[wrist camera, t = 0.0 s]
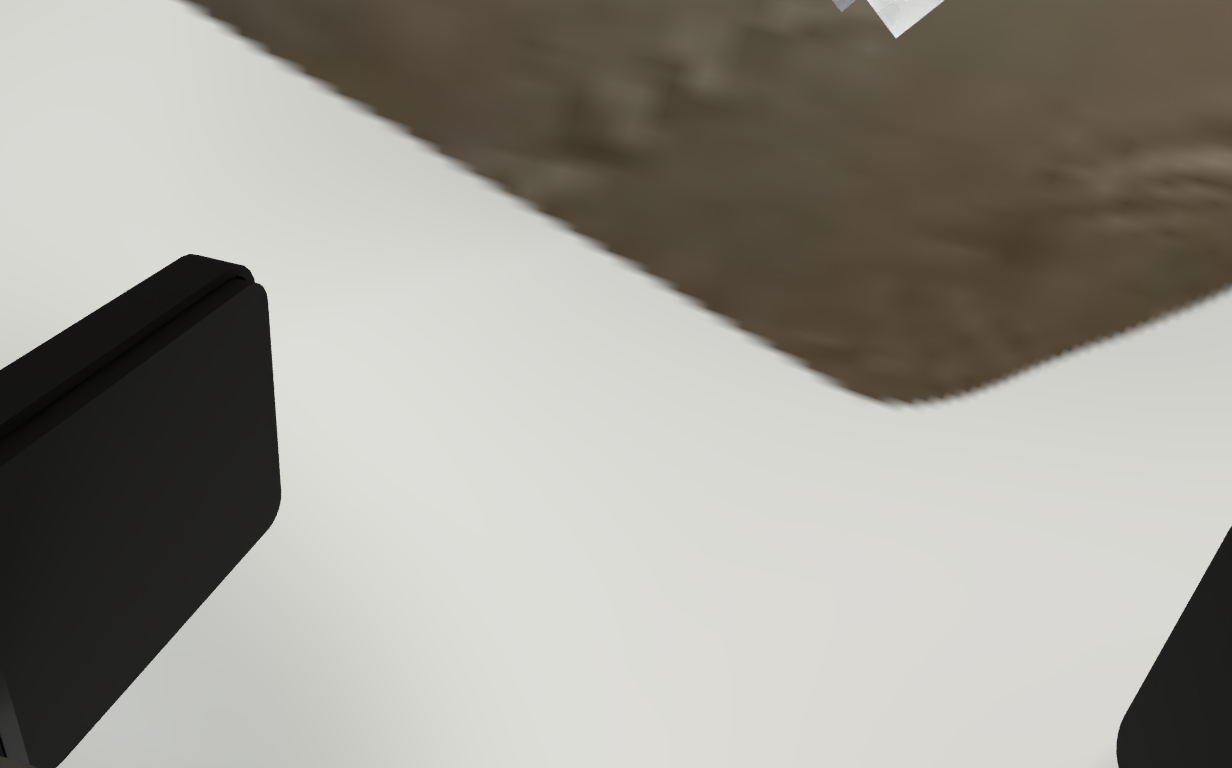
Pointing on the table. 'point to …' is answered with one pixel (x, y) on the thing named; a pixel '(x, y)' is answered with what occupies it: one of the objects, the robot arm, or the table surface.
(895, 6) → the pipe stand
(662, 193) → the table surface
